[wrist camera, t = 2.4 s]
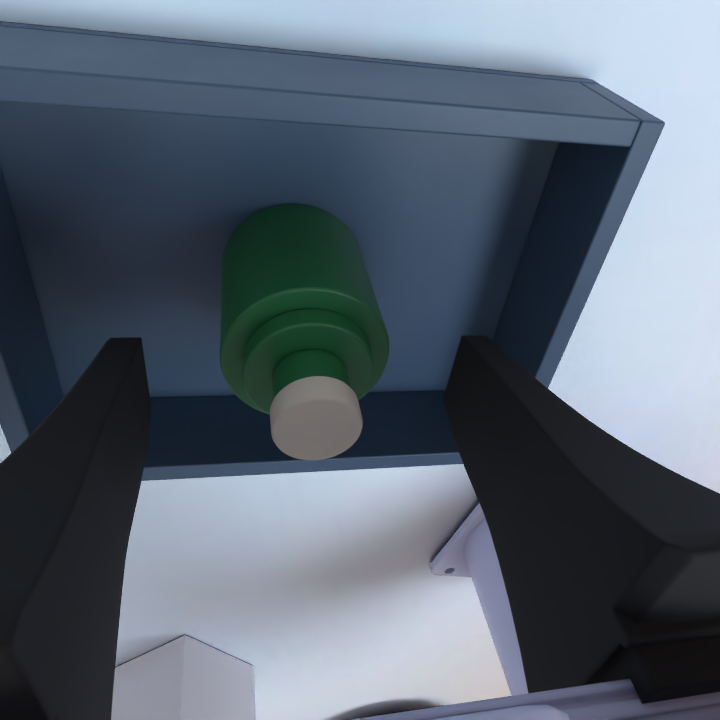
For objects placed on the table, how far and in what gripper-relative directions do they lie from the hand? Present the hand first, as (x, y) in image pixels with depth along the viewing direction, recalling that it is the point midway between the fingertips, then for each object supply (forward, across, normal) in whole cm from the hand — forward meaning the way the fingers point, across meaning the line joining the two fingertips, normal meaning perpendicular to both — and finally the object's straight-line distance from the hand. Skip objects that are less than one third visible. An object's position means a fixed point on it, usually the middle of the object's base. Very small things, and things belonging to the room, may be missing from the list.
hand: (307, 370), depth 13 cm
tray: (+5, 0, 0) cm, 5 cm away
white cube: (+5, +5, +27) cm, 28 cm away
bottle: (+5, 0, 0) cm, 5 cm away
